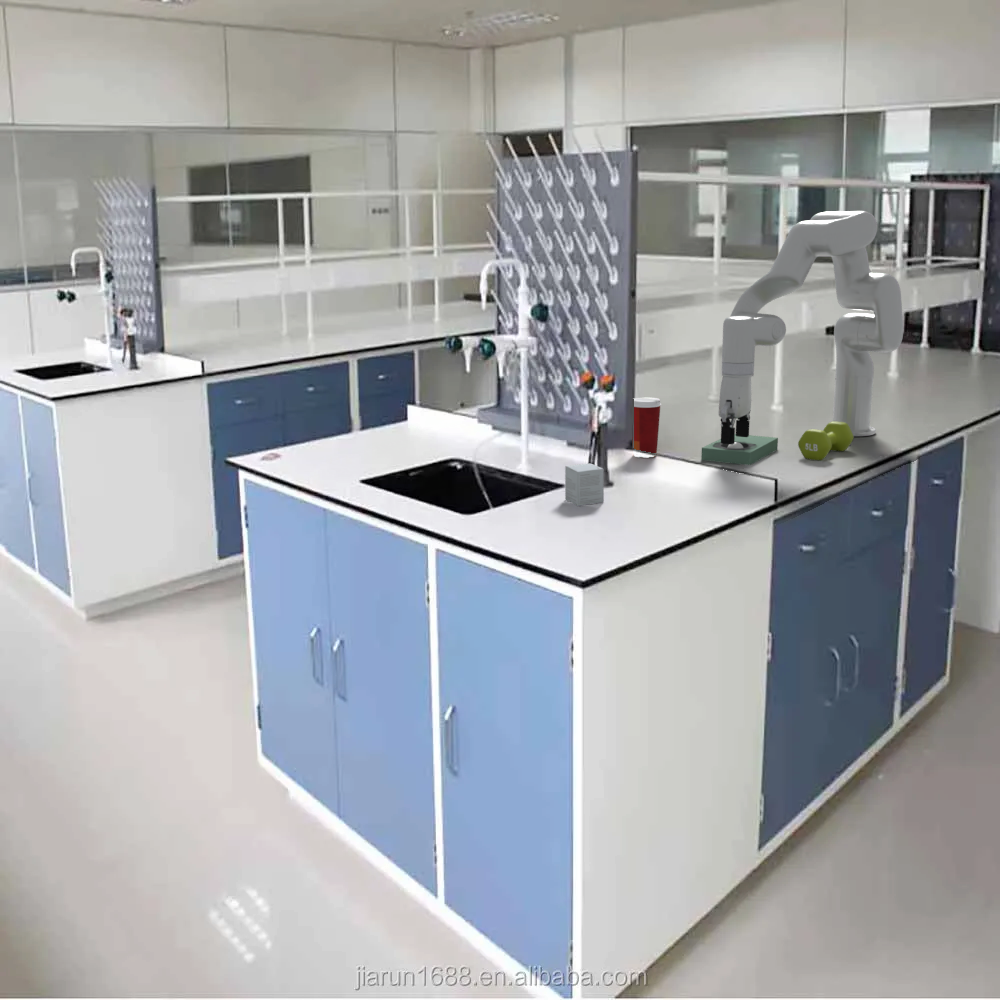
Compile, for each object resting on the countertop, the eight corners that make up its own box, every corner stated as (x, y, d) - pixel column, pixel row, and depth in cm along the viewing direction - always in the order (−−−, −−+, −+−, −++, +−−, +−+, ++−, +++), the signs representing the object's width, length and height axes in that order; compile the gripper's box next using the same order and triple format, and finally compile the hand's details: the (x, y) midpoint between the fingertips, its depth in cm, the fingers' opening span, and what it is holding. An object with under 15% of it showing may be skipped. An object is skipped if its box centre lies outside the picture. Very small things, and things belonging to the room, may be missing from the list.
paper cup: (665, 454, 262) (667, 398, 258) (652, 460, 256) (653, 402, 252) (637, 451, 266) (638, 396, 262) (623, 457, 260) (623, 400, 256)
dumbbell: (824, 447, 267) (826, 419, 265) (855, 451, 262) (857, 422, 260) (794, 458, 255) (796, 429, 254) (825, 463, 250) (827, 433, 248)
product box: (590, 496, 223) (591, 462, 221) (604, 503, 218) (604, 468, 216) (564, 499, 221) (564, 465, 219) (577, 506, 216) (577, 471, 214)
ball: (725, 460, 258) (731, 451, 260) (741, 462, 255) (746, 452, 258) (723, 447, 255) (729, 438, 258) (739, 448, 253) (745, 439, 256)
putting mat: (731, 445, 271) (731, 433, 271) (777, 449, 265) (778, 437, 264) (701, 460, 255) (701, 447, 254) (749, 465, 249) (750, 452, 248)
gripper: (735, 364, 260) (733, 432, 265) (708, 372, 246) (706, 445, 251) (765, 365, 257) (762, 435, 261) (739, 374, 242) (736, 448, 247)
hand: (734, 440), depth 256 cm, fingers open, 9 cm apart
